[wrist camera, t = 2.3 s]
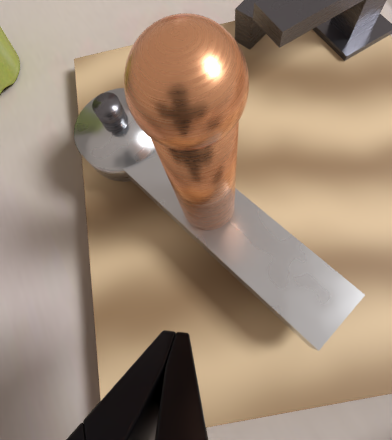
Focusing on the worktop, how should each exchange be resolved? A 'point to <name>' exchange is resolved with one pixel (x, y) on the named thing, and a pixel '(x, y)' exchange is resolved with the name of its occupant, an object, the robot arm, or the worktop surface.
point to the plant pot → (7, 62)
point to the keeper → (313, 22)
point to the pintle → (110, 112)
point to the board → (279, 211)
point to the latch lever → (210, 169)
